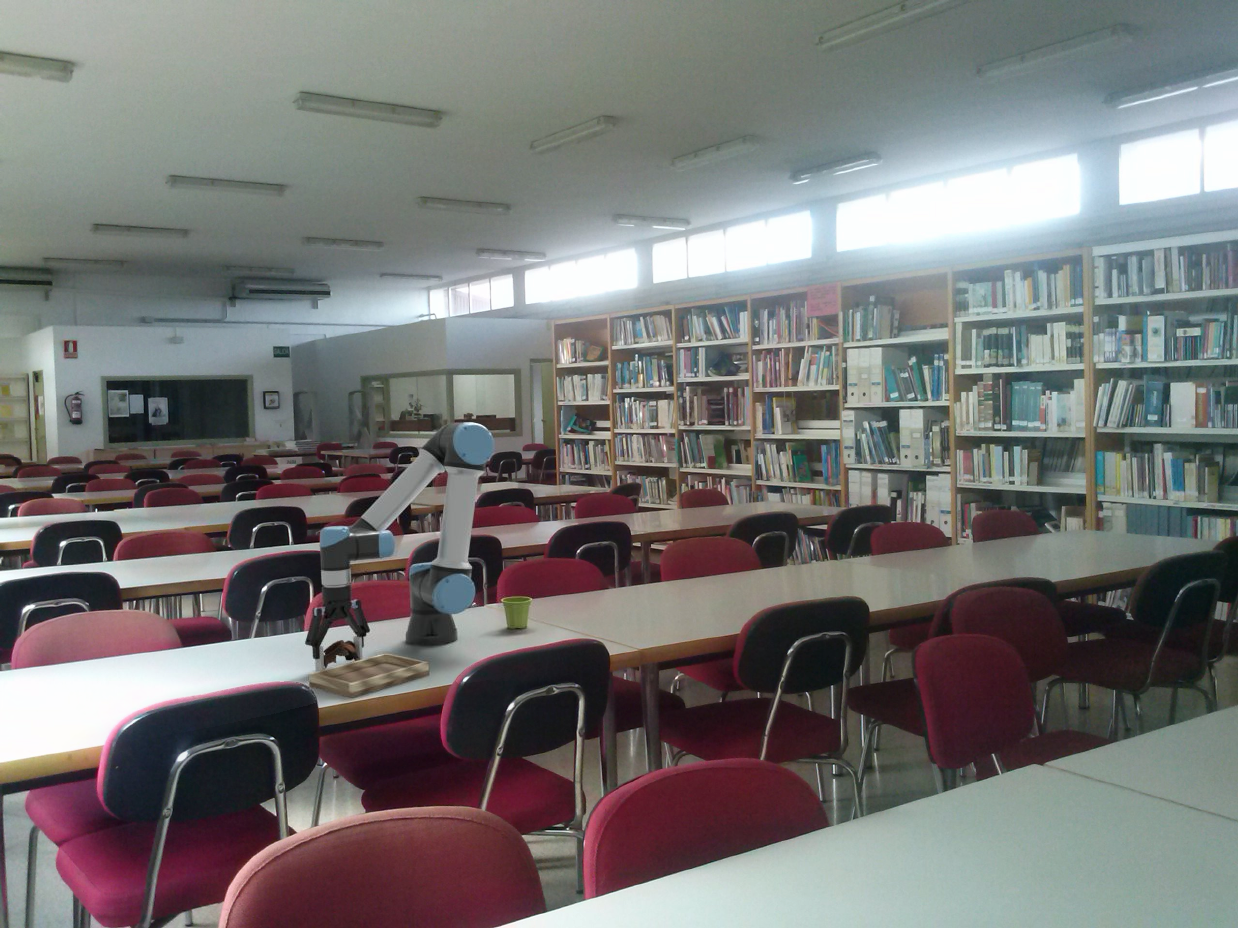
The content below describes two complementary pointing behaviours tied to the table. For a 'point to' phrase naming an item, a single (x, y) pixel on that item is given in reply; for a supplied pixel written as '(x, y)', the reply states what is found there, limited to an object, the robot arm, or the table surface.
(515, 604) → the plant pot
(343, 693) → the wooden tray
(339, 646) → the dark brown arched piece
